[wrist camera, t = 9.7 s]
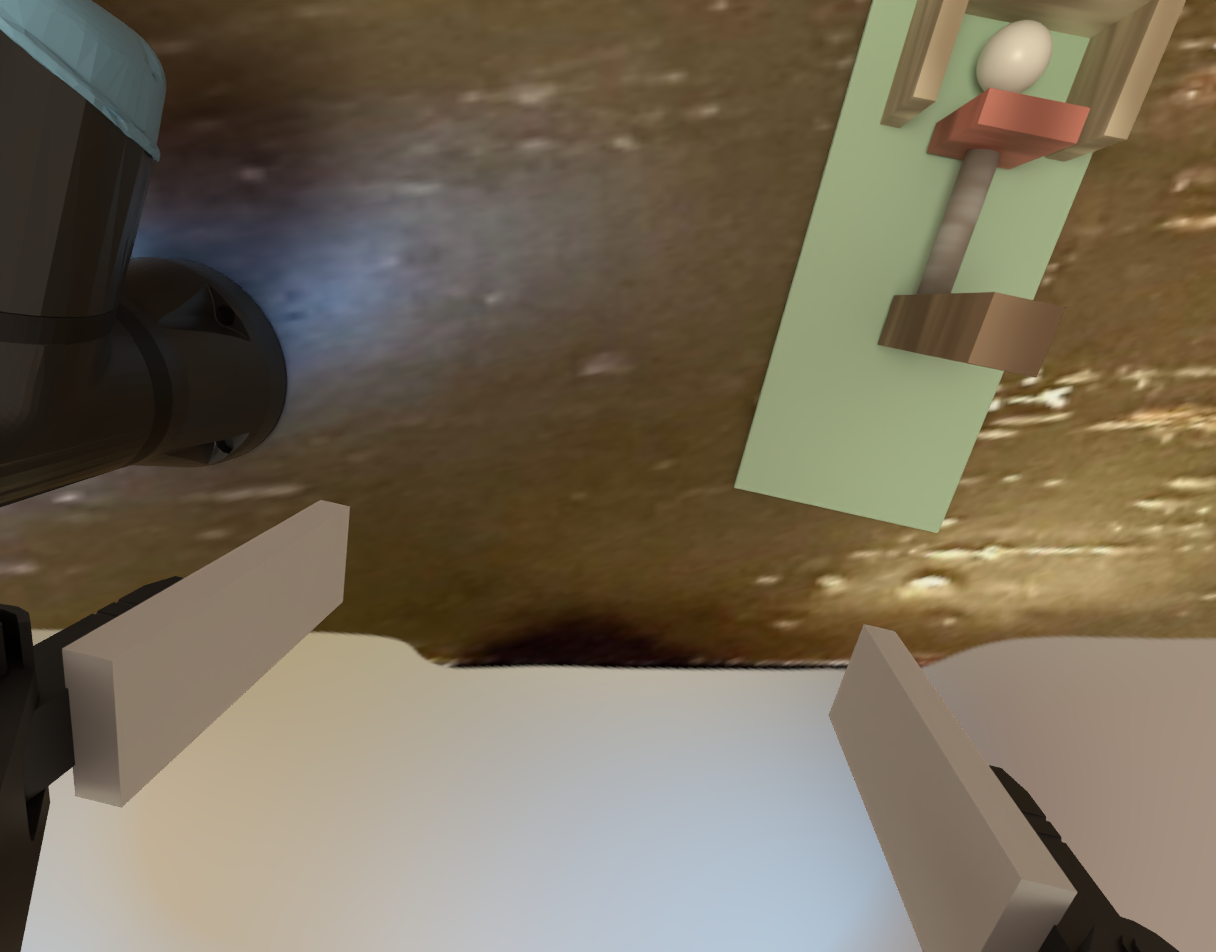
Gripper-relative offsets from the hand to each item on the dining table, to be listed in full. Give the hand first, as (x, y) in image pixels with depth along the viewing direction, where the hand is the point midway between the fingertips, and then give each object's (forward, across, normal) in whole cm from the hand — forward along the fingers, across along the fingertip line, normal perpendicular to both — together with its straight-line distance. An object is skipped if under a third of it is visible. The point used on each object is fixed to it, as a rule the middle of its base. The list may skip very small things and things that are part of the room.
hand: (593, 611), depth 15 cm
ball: (+27, +16, +24) cm, 39 cm away
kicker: (+28, +16, +14) cm, 35 cm away
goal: (+29, +16, +24) cm, 41 cm away
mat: (+29, +16, +12) cm, 35 cm away
